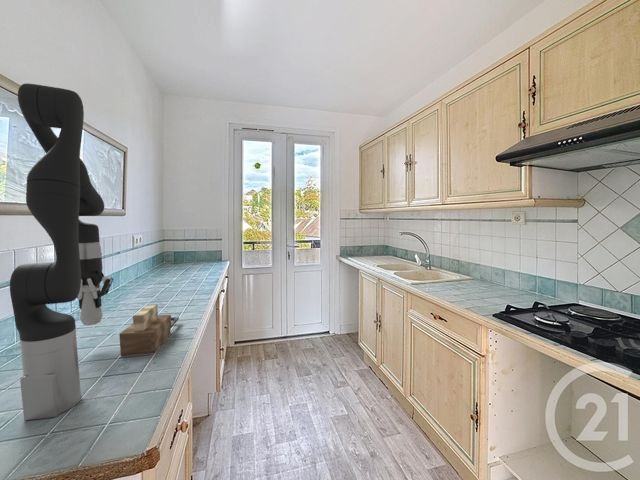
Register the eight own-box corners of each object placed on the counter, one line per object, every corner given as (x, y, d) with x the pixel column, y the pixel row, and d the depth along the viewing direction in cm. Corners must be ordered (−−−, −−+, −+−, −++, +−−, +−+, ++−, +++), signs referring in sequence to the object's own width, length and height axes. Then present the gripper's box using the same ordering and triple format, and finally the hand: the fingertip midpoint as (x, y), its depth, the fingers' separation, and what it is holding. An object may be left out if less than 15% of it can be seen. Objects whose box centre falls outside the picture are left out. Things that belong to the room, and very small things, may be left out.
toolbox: (155, 352, 93) (154, 334, 93) (120, 355, 92) (119, 336, 91) (170, 334, 108) (169, 318, 107) (141, 336, 106) (140, 320, 106)
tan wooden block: (154, 346, 93) (153, 316, 92) (120, 349, 91) (118, 318, 91) (178, 319, 118) (177, 295, 117) (152, 321, 116) (150, 296, 115)
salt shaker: (90, 327, 91) (87, 286, 90) (75, 326, 92) (72, 285, 91) (107, 320, 97) (104, 282, 96) (93, 319, 98) (90, 281, 97)
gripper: (53, 259, 88) (57, 314, 89) (104, 257, 90) (108, 311, 92) (69, 255, 95) (74, 307, 97) (117, 254, 98) (120, 304, 99)
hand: (90, 309), depth 94 cm, fingers closed on salt shaker, 3 cm apart
